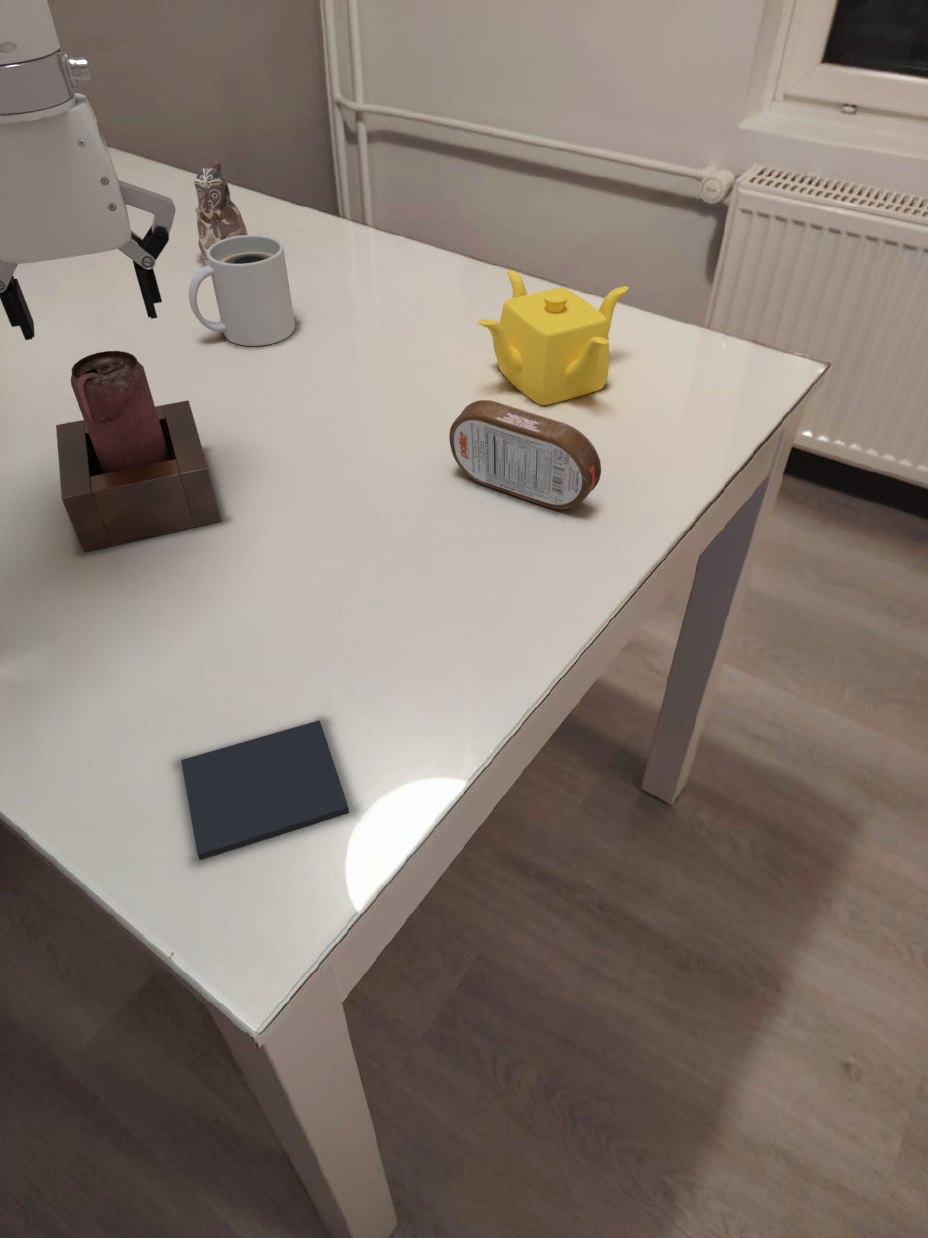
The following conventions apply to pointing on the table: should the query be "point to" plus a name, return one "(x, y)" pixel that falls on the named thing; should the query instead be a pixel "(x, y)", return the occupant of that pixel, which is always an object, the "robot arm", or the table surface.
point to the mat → (261, 788)
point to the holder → (136, 485)
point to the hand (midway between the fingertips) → (91, 321)
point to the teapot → (553, 342)
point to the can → (118, 411)
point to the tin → (524, 454)
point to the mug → (248, 290)
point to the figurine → (215, 210)
